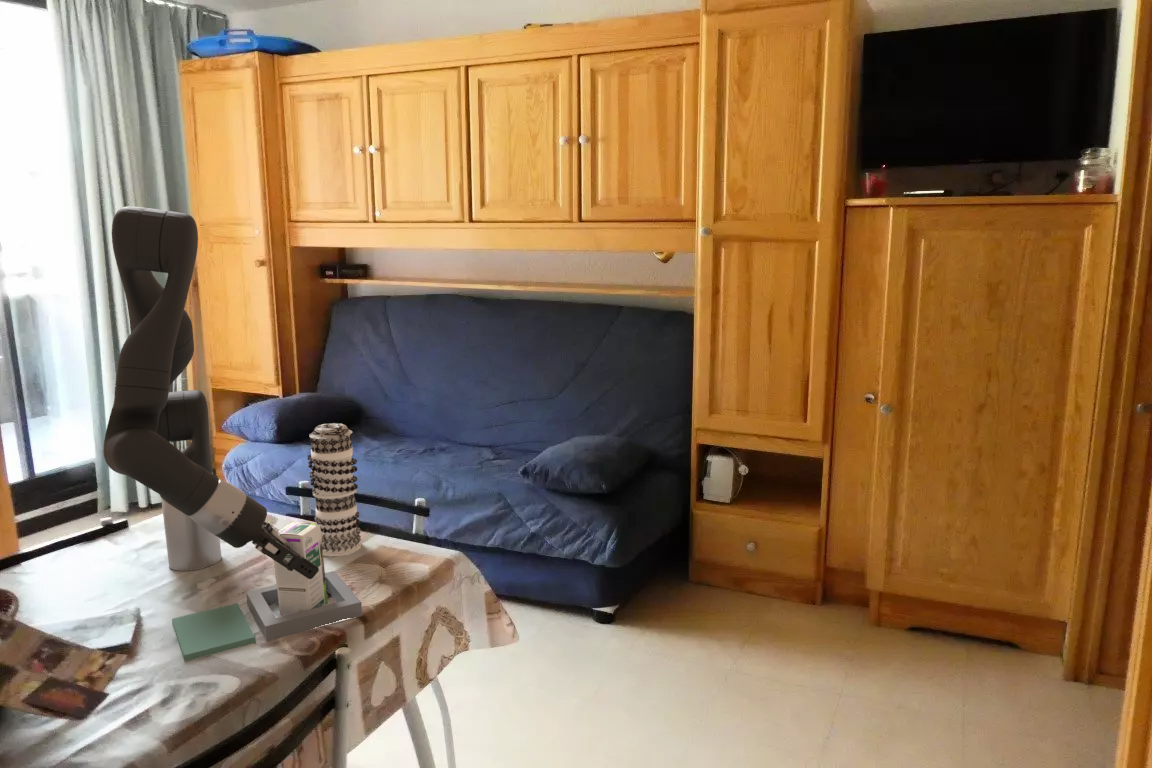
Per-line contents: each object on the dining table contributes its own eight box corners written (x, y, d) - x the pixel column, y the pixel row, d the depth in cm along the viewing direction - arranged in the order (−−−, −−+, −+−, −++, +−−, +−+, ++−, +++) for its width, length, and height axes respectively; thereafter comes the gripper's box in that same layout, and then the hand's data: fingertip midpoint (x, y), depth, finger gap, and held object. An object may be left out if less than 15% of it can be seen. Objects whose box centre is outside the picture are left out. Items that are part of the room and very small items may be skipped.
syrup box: (311, 620, 134) (304, 535, 131) (278, 617, 135) (270, 533, 132) (328, 604, 139) (322, 522, 137) (296, 601, 140) (289, 520, 138)
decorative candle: (305, 549, 163) (295, 427, 159) (345, 536, 170) (336, 418, 166) (331, 561, 157) (322, 434, 153) (372, 546, 164) (364, 424, 160)
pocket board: (247, 605, 139) (245, 591, 139) (335, 583, 147) (334, 570, 147) (266, 641, 127) (265, 626, 126) (362, 616, 135) (361, 601, 134)
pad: (172, 624, 133) (171, 618, 133) (238, 608, 138) (237, 603, 138) (184, 661, 121) (183, 655, 121) (255, 642, 127) (255, 636, 126)
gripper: (253, 505, 123) (335, 560, 131) (235, 481, 135) (311, 533, 143) (218, 546, 121) (304, 600, 129) (203, 519, 133) (282, 569, 141)
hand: (308, 565), depth 136 cm, fingers open, 8 cm apart
